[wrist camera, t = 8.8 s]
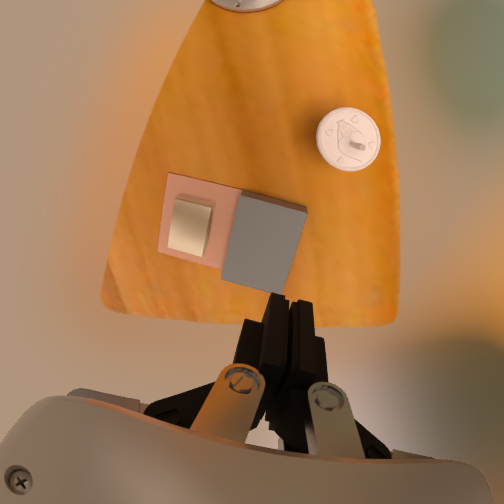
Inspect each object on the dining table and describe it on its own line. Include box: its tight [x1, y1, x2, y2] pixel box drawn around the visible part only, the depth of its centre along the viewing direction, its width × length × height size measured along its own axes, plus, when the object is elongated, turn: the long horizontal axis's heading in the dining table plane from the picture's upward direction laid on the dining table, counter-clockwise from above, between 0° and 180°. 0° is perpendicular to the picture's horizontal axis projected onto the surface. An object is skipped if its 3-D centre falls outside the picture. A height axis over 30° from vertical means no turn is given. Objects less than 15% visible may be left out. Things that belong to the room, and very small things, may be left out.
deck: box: [221, 190, 308, 295], centre depth 41 cm, size 12×8×3 cm
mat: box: [157, 173, 243, 270], centre depth 42 cm, size 12×10×1 cm
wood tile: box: [168, 195, 216, 257], centre depth 41 cm, size 7×5×2 cm
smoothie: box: [316, 107, 381, 171], centre depth 29 cm, size 6×6×14 cm
